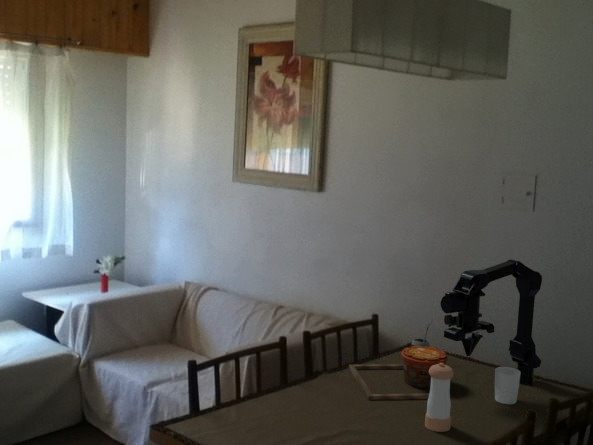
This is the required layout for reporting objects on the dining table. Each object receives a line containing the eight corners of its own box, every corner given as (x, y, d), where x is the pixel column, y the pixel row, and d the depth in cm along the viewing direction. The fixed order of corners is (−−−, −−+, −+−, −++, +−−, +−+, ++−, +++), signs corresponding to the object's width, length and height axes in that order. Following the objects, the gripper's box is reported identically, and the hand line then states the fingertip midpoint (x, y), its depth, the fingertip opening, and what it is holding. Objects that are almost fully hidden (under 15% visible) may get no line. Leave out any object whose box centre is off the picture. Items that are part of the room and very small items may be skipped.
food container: (394, 386, 236) (396, 355, 234) (405, 371, 250) (407, 342, 249) (441, 394, 230) (443, 362, 228) (450, 379, 245) (452, 349, 243)
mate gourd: (409, 363, 260) (412, 324, 258) (410, 356, 267) (412, 318, 266) (430, 365, 259) (432, 325, 257) (429, 358, 266) (432, 320, 264)
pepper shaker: (435, 433, 199) (439, 368, 196) (419, 423, 205) (423, 360, 203) (455, 429, 202) (459, 365, 200) (439, 420, 209) (443, 357, 206)
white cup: (519, 406, 222) (521, 376, 220) (493, 403, 223) (496, 373, 222) (516, 397, 229) (519, 368, 228) (492, 394, 231) (494, 365, 230)
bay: (417, 367, 256) (417, 364, 255) (445, 398, 226) (445, 395, 226) (348, 367, 252) (349, 364, 252) (368, 399, 222) (368, 396, 222)
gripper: (470, 300, 241) (468, 344, 243) (432, 308, 231) (430, 354, 233) (496, 307, 232) (494, 353, 234) (458, 316, 222) (456, 363, 224)
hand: (468, 355), depth 232 cm, fingers closed
